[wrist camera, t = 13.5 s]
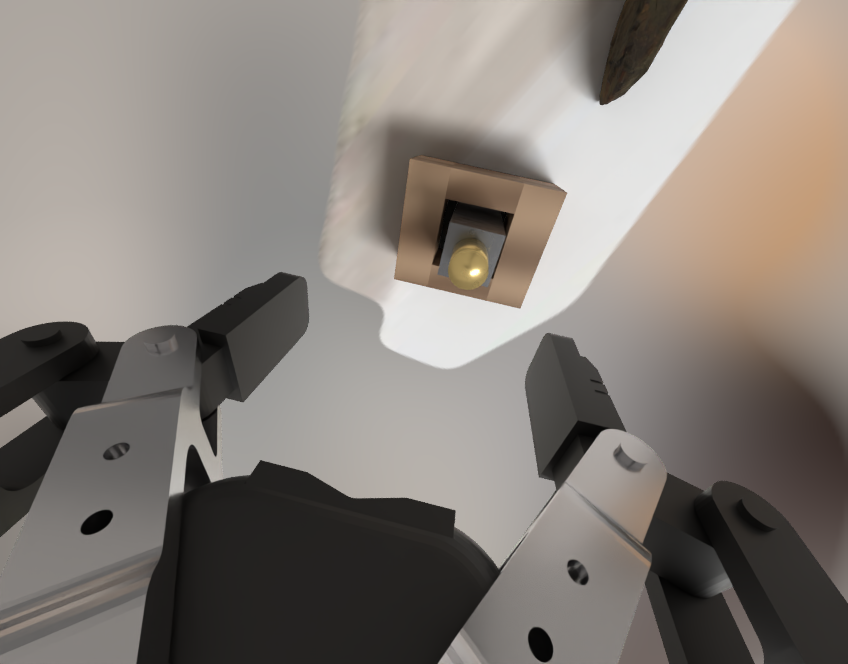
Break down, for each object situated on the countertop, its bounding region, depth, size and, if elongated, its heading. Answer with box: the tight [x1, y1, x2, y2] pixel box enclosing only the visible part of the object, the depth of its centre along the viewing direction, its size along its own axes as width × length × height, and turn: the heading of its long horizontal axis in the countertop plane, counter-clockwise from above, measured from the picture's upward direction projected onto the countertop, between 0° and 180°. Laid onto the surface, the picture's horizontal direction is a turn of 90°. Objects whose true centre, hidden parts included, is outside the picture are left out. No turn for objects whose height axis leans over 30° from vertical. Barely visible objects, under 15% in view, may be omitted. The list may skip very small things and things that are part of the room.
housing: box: [394, 155, 567, 308], centre depth 28 cm, size 10×12×5 cm
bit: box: [437, 202, 506, 290], centre depth 25 cm, size 4×4×12 cm
